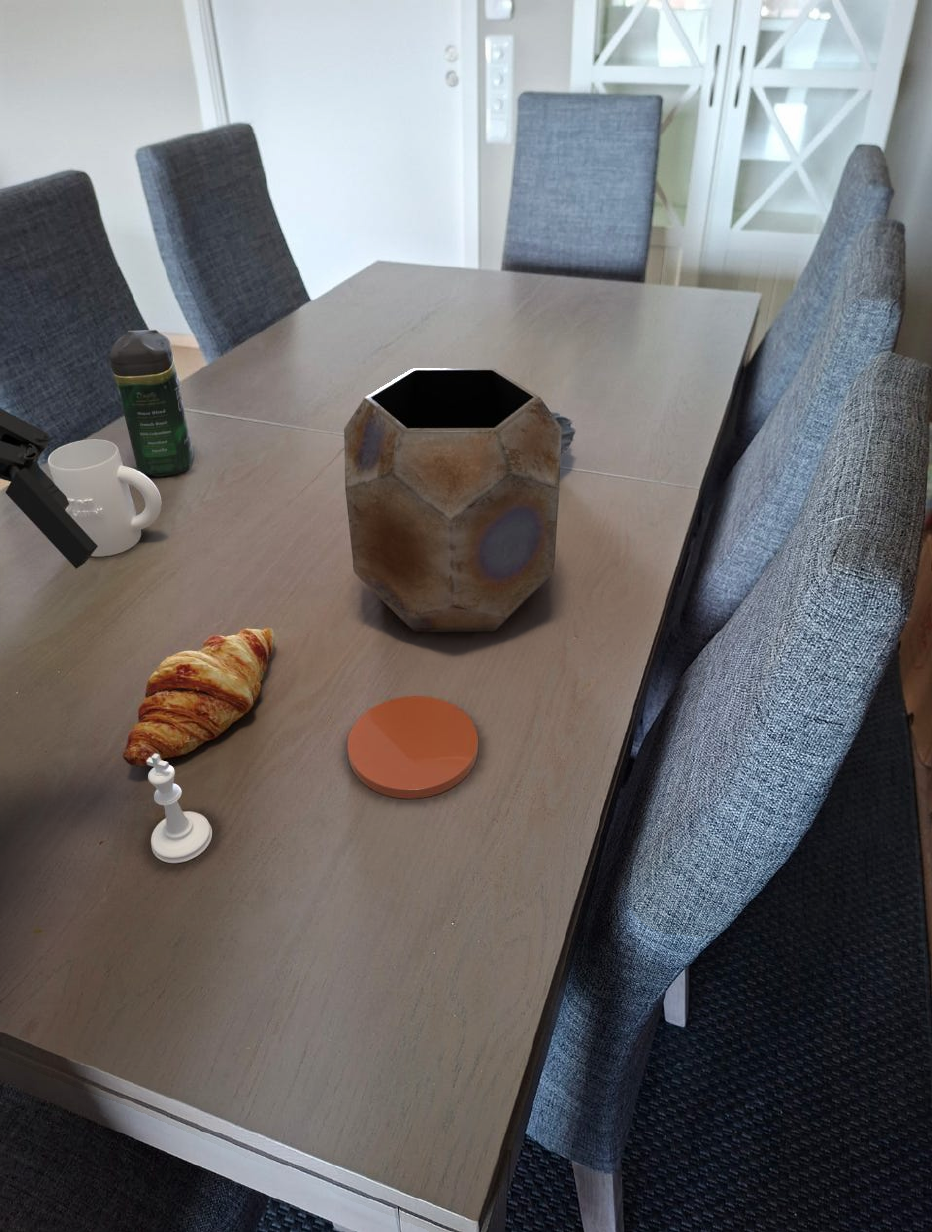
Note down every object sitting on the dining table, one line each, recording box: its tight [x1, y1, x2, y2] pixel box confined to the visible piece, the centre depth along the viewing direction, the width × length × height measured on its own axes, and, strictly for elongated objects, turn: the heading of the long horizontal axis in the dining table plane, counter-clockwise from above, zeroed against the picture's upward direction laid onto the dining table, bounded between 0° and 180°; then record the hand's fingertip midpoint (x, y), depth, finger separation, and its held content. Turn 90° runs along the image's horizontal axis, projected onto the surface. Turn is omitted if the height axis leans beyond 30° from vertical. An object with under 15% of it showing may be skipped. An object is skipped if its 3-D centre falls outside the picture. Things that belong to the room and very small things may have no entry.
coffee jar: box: [109, 329, 194, 477], centre depth 122 cm, size 10×8×19 cm
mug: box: [47, 438, 162, 558], centre depth 107 cm, size 8×12×12 cm
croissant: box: [122, 627, 276, 767], centre depth 84 cm, size 21×10×8 cm, turn 156°
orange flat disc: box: [347, 695, 479, 800], centre depth 81 cm, size 12×12×1 cm
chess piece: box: [146, 753, 213, 864], centre depth 70 cm, size 5×5×10 cm
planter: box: [343, 367, 562, 633], centre depth 94 cm, size 22×24×24 cm
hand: (0, 614), depth 52 cm, fingers open, 13 cm apart
